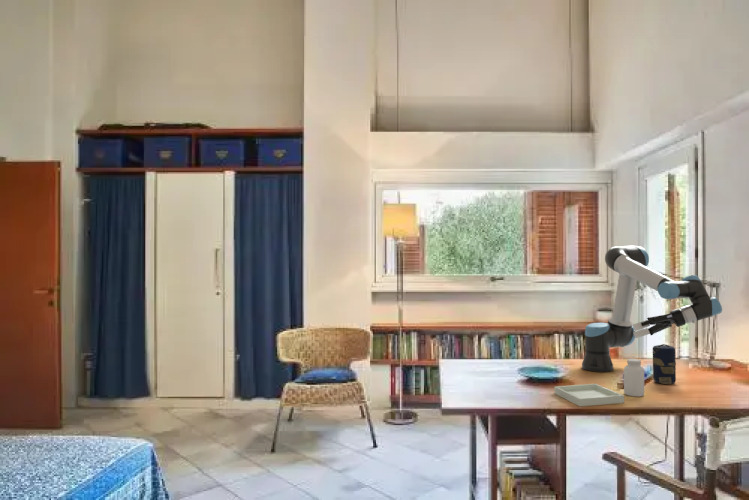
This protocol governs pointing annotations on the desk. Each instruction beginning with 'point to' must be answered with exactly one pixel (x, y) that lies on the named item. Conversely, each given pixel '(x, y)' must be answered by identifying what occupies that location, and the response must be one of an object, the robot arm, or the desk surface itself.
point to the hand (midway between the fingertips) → (633, 331)
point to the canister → (664, 364)
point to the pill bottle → (634, 378)
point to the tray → (588, 394)
